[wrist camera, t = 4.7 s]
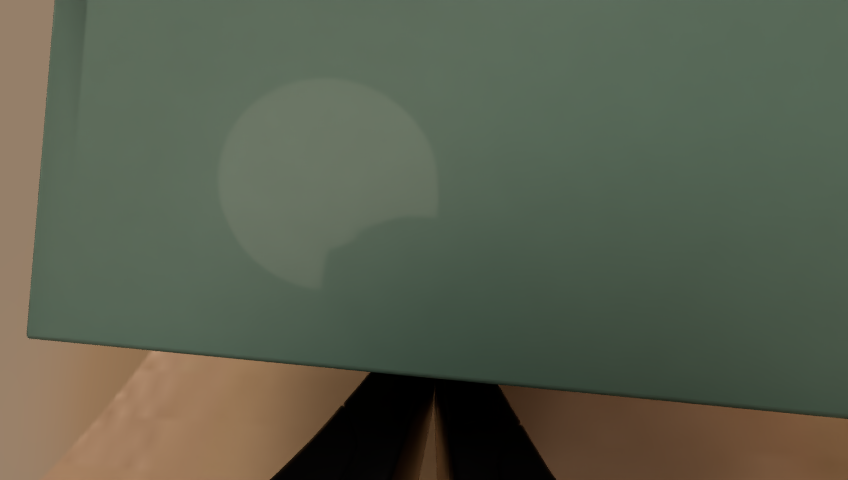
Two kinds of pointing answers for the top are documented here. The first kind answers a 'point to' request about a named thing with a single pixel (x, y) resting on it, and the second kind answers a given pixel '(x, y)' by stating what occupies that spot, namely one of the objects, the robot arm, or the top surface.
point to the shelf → (458, 191)
